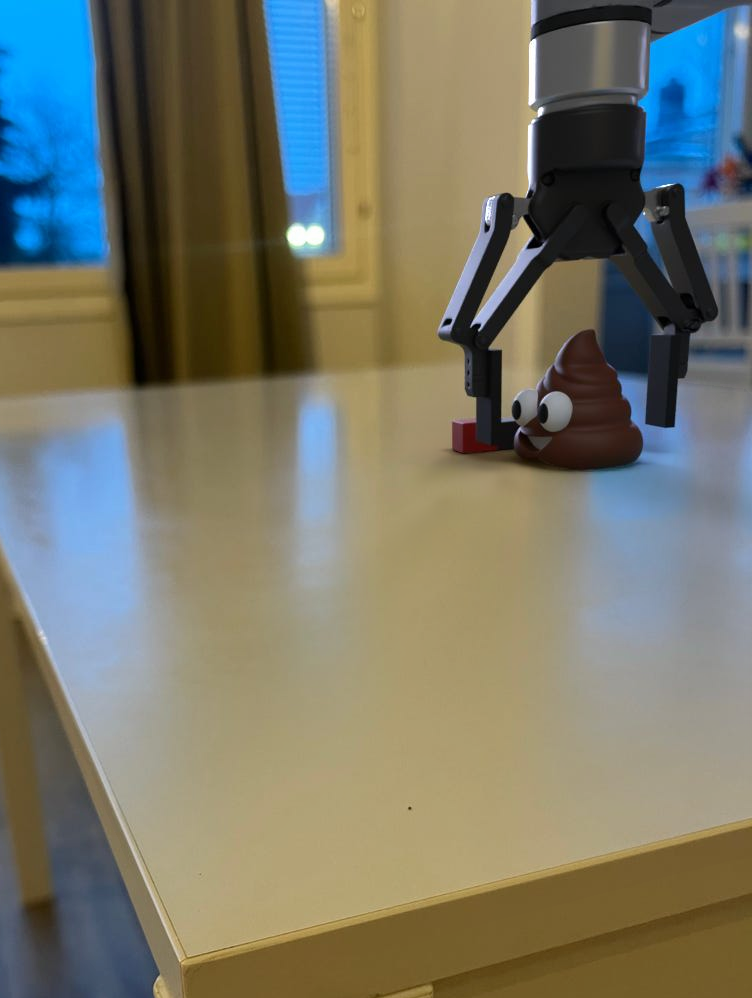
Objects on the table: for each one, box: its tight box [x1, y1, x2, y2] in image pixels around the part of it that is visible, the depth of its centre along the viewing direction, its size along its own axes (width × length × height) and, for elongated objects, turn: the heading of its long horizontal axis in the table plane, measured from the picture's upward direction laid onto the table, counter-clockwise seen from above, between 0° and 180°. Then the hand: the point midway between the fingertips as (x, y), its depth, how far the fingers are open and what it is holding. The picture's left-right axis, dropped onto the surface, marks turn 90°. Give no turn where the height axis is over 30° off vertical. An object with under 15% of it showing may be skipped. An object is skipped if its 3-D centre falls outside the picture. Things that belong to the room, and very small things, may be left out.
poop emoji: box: [510, 328, 644, 471], centre depth 72 cm, size 10×8×9 cm
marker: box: [451, 416, 521, 454], centre depth 81 cm, size 13×2×2 cm, turn 102°
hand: (575, 434), depth 72 cm, fingers open, 13 cm apart
